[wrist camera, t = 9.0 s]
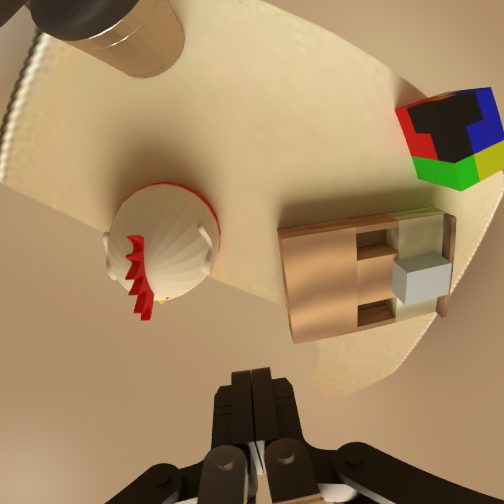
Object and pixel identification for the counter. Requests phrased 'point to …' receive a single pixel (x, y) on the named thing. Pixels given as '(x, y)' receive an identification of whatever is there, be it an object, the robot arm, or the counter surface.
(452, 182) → the puzzle toy
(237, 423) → the robot arm
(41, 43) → the counter surface
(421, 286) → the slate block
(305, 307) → the board
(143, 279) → the kitchen timer
